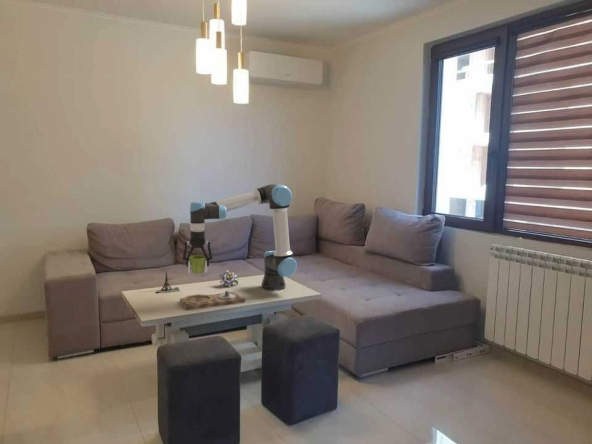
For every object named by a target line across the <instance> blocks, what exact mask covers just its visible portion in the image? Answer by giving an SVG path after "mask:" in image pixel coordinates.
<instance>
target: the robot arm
mask: <svg viewBox="0 0 592 444" xmlns="http://www.w3.org/2000/svg"><path fill="white" fill-rule="evenodd" d="M292 198H293V194H292V191H291V189H290V188H289V187H288V186H286V185H282V184H274V183H273V184H267V185H263V186H261V187H257V188H254V189H253V191H250V192H245V193H242V194H239V195H235V196H230V197H226V198H223V199H220V200H216V201H211V202H204V201H192V202H191V203H190V207H189V208H190V209H189V214H190V219H189V220H190V228H189V229H190V239H189V240H185V241H184V250H183V255H182V260H184V261H186V262H185V265H186V267H187V269H188V272H187V273H188V274H190V273H191V262H190V259H189V258H190V256H192V254H193V251H194V249H201V251H202V253H203V256H205V258H206V260H205V266H204V273H205V274H206V273H208V267H209V266H210V261H211V260H213V253H212V248H211V244H212V243H211V240H209V241H208V240H206V239H205V238H206V236H205V235H206V233H205V230H206V228H205V224H206V222H205V221H206V220H223V219H226V218H227V215H228V214H227V212H230V211H234V210H238V209H242V208H245V207H248V206H252V205H263V204H268V205H269V206H268V207H269V210H270V211H271V213H272V222H273V223H272V225H273V234H274V236H273V237H274V247H275V248H274V249H275V250H270V251H269V250H268V251H265V252H264V255H263V258H264V263H263V264H264V265H263V269H264V275H263V279H262V281H261V289H264V290H266V289H267V290H269V291H279V289H281V290H284V289H285V288H286V286H287V285H286V281H285V277H286V278H287V277H291V276H293V274H295V272H296V271H297V268H298V264H297V261H296V259H295V258H294V253H293V250H291V245H290V234H289V232H290V230H289V221H288V209H290V203H291V201H292ZM205 244H206V246H207V251H208V253H207V251H206V249H205V247H204V245H205ZM189 245H190V246H192V247H191V248H190V251H189V253H188V254H187V252H188V246H189ZM283 288H284V289H283Z"/></svg>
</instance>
